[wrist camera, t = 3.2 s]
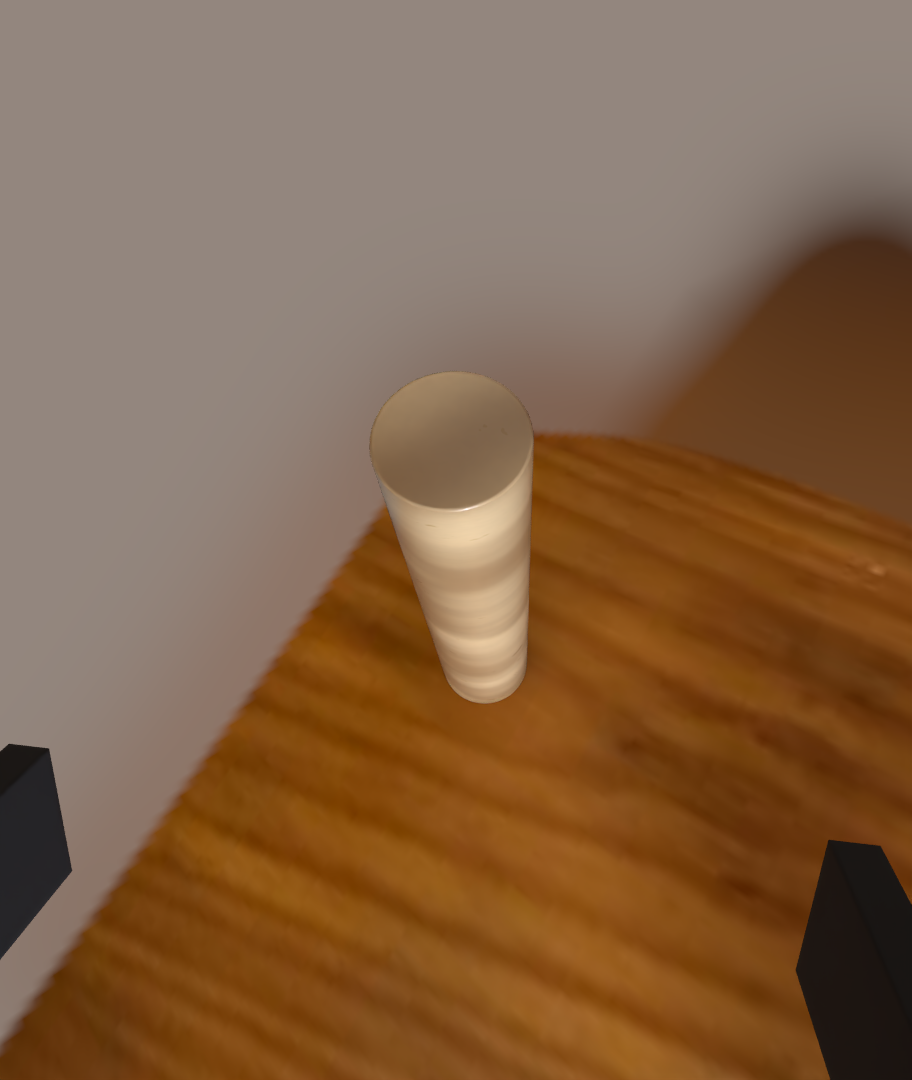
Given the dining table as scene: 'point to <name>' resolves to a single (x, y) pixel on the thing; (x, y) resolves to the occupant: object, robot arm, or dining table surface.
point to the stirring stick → (463, 520)
